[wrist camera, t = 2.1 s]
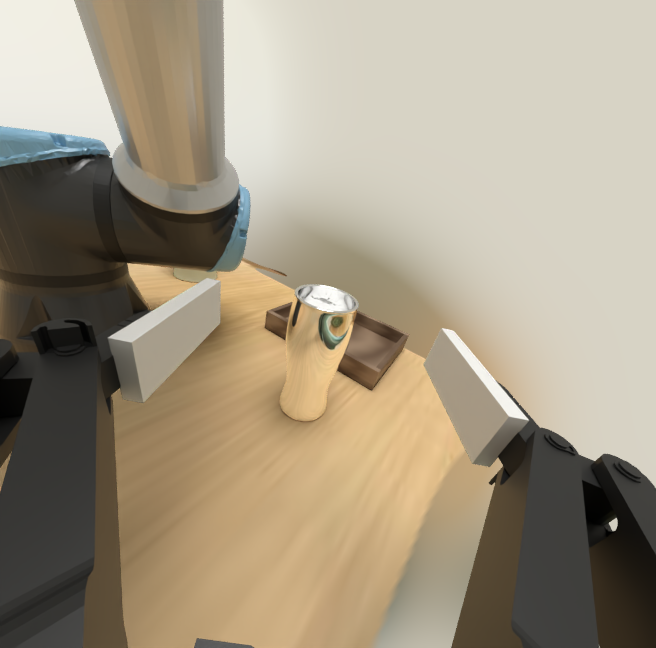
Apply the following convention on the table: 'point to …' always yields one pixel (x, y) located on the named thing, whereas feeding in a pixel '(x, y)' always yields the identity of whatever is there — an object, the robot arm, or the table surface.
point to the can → (193, 275)
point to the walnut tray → (356, 345)
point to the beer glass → (315, 347)
